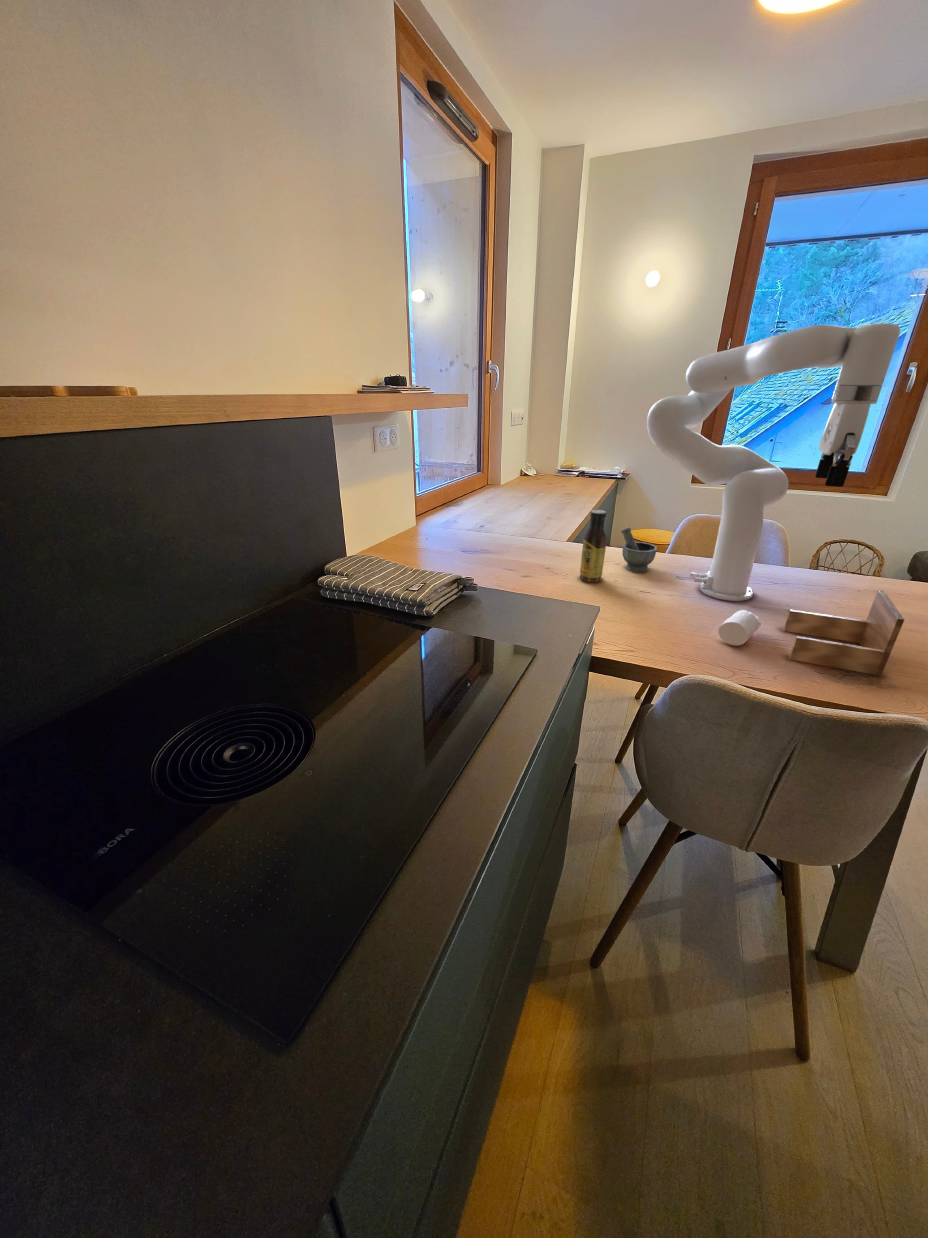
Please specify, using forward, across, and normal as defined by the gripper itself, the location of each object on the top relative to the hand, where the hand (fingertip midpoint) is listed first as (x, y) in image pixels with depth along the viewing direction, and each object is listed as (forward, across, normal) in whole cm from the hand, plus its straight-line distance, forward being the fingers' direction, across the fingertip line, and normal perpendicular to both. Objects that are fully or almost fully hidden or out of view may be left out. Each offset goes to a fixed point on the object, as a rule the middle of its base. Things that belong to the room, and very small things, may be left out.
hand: (828, 481), depth 107 cm
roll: (+31, +18, -12) cm, 38 cm away
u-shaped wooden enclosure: (+31, +19, +5) cm, 37 cm away
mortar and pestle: (+32, -20, -38) cm, 53 cm away
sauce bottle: (+32, -5, -48) cm, 58 cm away
